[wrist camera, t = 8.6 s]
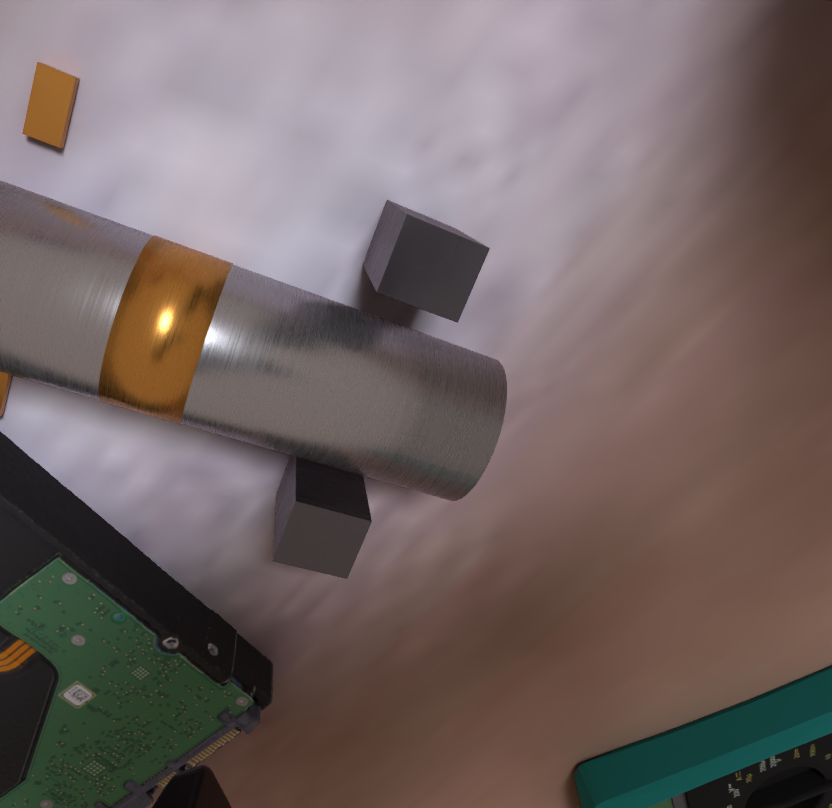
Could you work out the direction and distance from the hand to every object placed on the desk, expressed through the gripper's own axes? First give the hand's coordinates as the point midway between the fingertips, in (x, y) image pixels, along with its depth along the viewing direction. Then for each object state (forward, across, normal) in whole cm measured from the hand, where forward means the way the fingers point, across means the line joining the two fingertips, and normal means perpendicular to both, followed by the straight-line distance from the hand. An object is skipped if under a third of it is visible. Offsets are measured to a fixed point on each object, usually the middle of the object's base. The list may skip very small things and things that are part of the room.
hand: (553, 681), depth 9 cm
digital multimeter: (+12, -9, +21) cm, 26 cm away
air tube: (+12, +5, -4) cm, 13 cm away
